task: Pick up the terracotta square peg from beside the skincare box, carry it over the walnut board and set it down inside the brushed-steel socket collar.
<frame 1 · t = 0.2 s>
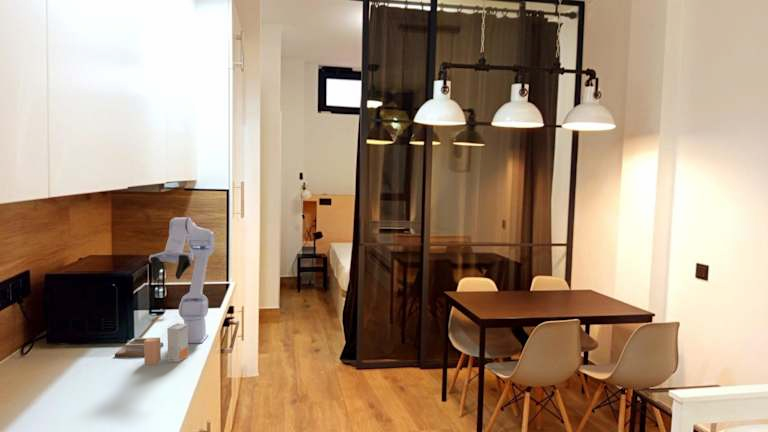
hand: (165, 278, 170), 31 cm above the counter, tool tilted 45°, fingers open, 7 cm apart
socket board: (139, 351, 188), on the counter
skincare box: (178, 359, 181), on the counter
peg: (152, 361, 178), on the counter
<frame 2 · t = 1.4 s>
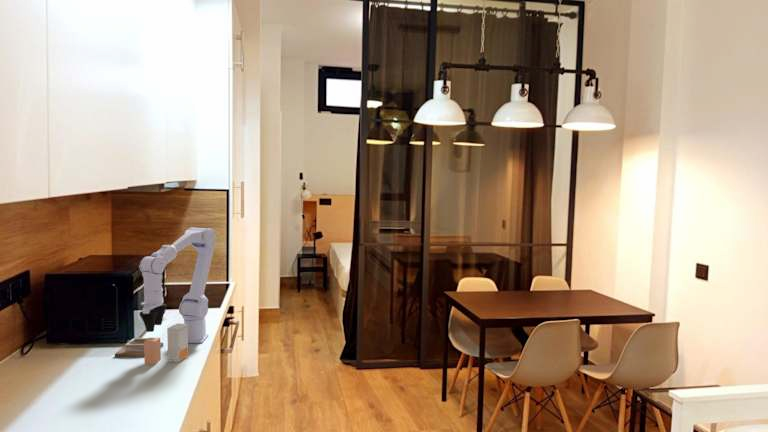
hand: (154, 328, 182), 10 cm above the counter, tool pointing down, fingers open, 7 cm apart
nothing on the counter moved.
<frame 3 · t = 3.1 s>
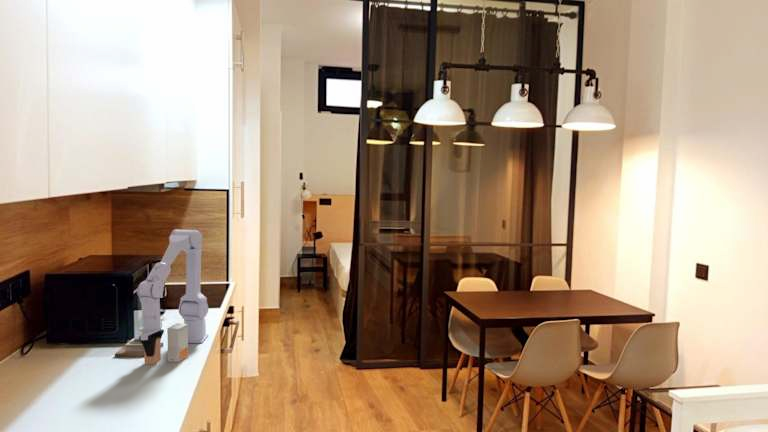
hand: (152, 353, 178), 3 cm above the counter, tool pointing down, fingers closed on peg, 4 cm apart
peg: (152, 361, 178), on the counter, touching gripper
everything else where it was.
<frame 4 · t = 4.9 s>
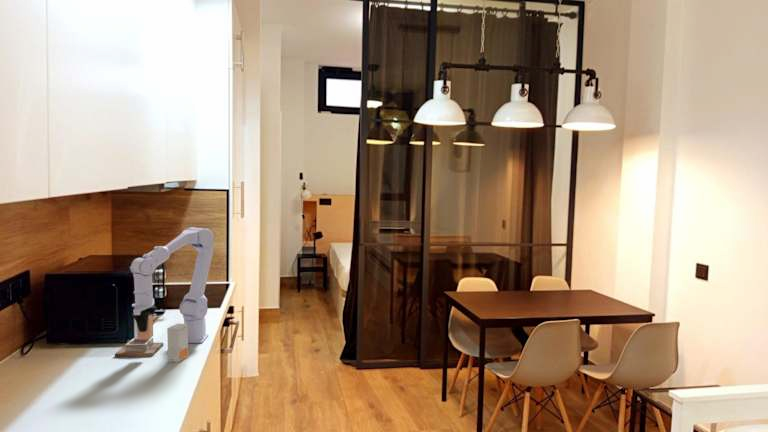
hand: (145, 329, 182), 10 cm above the counter, tool pointing down, fingers closed on peg, 4 cm apart
peg: (145, 337, 183), point 7 cm above the counter, touching gripper
everything else where it was.
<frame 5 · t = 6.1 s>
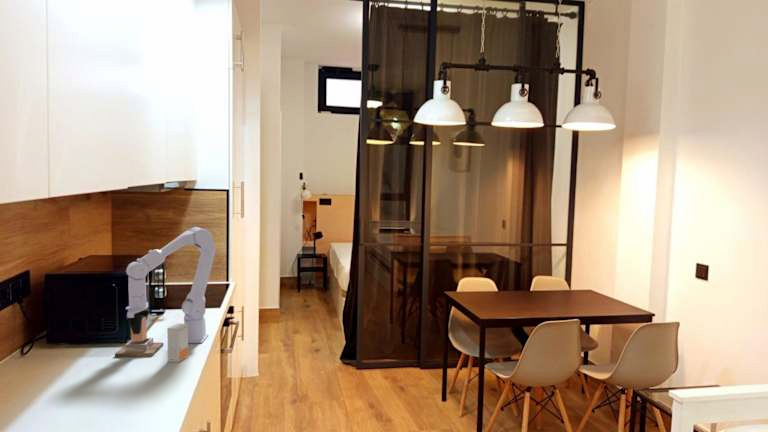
hand: (139, 331, 188), 7 cm above the counter, tool pointing down, fingers closed on peg, 4 cm apart
peg: (139, 339, 188), point 4 cm above the counter, touching gripper
everything else where it was.
when the fingers open (5 cm above the counter, at t = 7.0 s): peg stays where it is, resting on socket board.
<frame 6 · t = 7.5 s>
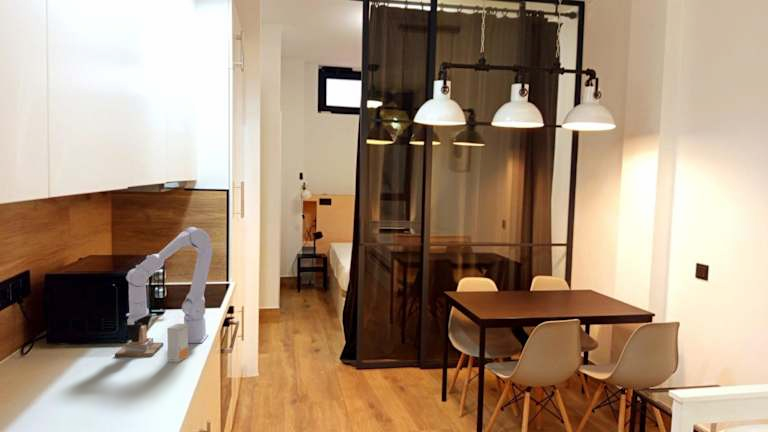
hand: (139, 338, 188), 5 cm above the counter, tool pointing down, fingers open, 7 cm apart
peg: (139, 348, 188), point 1 cm above the counter, touching socket board
everything else where it was.
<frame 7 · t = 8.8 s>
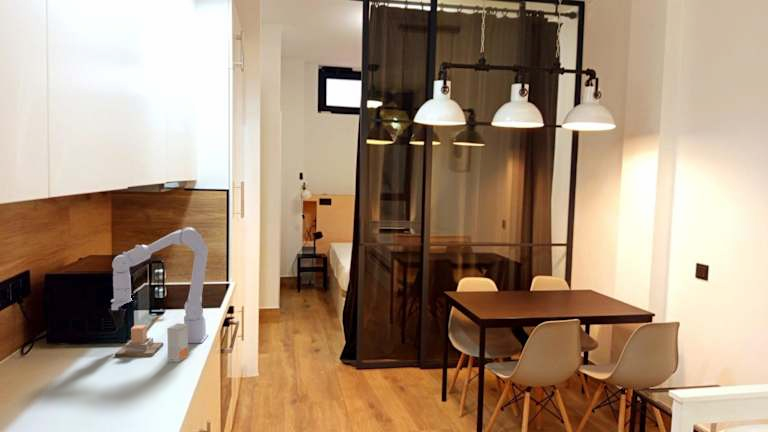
hand: (123, 324, 190), 9 cm above the counter, tool pointing down, fingers open, 7 cm apart
nothing on the counter moved.
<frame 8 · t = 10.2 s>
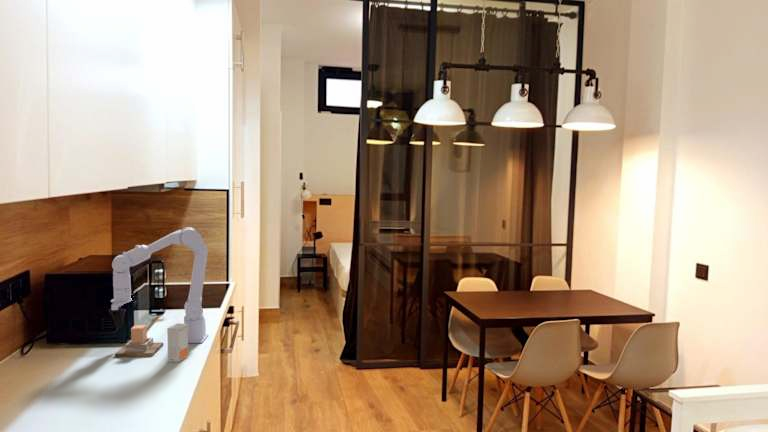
hand: (123, 324, 190), 9 cm above the counter, tool pointing down, fingers open, 7 cm apart
nothing on the counter moved.
at the end: peg 0.1 cm off-centre on the socket board, point 1.2 cm above the socket board's base; peg tilted 0°; the gripper is holding nothing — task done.
